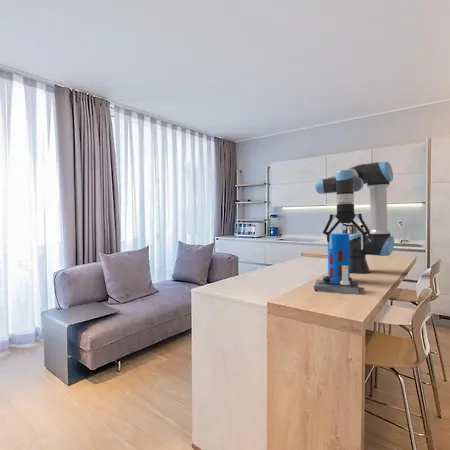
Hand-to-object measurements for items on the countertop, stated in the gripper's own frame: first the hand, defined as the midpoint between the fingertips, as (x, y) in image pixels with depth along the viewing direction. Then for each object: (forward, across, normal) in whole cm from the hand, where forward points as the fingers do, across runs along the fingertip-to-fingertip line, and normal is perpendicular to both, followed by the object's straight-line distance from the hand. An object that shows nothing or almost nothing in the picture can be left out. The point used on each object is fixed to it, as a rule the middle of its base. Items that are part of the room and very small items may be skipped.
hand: (346, 249), depth 141 cm
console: (+19, -4, 0) cm, 20 cm away
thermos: (+20, -5, +20) cm, 29 cm away
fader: (+16, -1, 0) cm, 16 cm away
